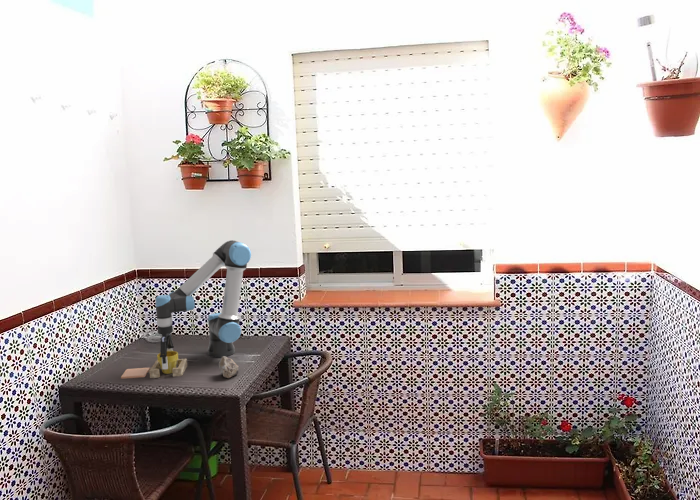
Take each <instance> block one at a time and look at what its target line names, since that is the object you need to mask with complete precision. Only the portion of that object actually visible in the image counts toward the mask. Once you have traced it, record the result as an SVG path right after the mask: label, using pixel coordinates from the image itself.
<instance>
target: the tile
mask: <svg viewBox="0 0 700 500" xmlns="http://www.w3.org/2000/svg"><path fill="white" fill-rule="evenodd" d="M150 369H151V367H138V368H137V367H135V368H127V369H125V371H124V372H123V374H122V375H121V376H120V379H138V378H145V377H147V375H148V373H150V372H149V370H150Z"/></svg>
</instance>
